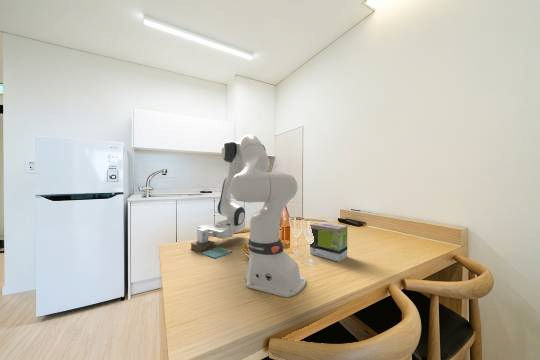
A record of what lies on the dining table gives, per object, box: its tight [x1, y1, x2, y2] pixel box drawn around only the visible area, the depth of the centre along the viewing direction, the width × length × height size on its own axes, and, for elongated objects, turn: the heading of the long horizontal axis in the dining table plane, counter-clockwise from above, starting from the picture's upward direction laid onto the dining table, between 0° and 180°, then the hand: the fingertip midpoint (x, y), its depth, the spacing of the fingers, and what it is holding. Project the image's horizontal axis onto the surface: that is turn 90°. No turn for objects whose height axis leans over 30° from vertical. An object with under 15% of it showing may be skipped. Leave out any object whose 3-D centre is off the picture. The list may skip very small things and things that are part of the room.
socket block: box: [190, 239, 215, 253], centre depth 105 cm, size 8×8×3 cm
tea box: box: [309, 221, 348, 263], centre depth 97 cm, size 15×10×15 cm
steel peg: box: [196, 228, 209, 245], centre depth 105 cm, size 4×4×10 cm
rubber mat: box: [201, 246, 232, 259], centre depth 99 cm, size 10×10×1 cm
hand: (201, 234), depth 105 cm, fingers closed on steel peg, 4 cm apart
